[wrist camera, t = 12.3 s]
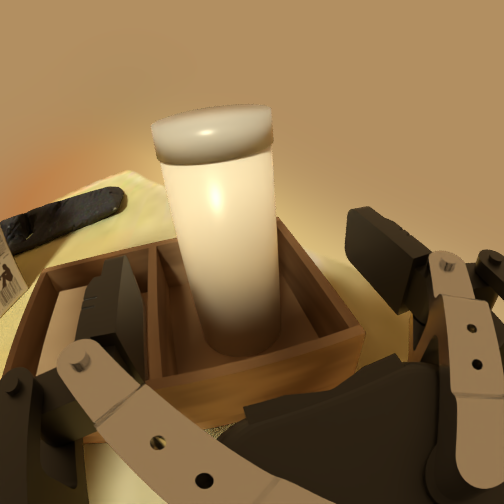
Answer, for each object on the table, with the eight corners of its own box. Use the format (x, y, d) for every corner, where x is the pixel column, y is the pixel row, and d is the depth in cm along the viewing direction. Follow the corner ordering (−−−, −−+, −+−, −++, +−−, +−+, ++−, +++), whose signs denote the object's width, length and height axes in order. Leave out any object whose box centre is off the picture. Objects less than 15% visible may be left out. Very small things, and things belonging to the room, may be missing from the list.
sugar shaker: (210, 367, 18) (148, 136, 10) (196, 309, 22) (152, 118, 14) (294, 344, 19) (290, 113, 11) (267, 291, 23) (251, 101, 15)
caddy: (43, 443, 13) (-5, 402, 10) (66, 313, 24) (42, 269, 21) (350, 386, 16) (366, 332, 14) (280, 267, 27) (278, 216, 24)
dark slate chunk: (125, 225, 38) (116, 192, 36) (-4, 267, 33) (-17, 239, 30) (126, 189, 51) (120, 164, 48) (22, 223, 45) (13, 200, 42)
